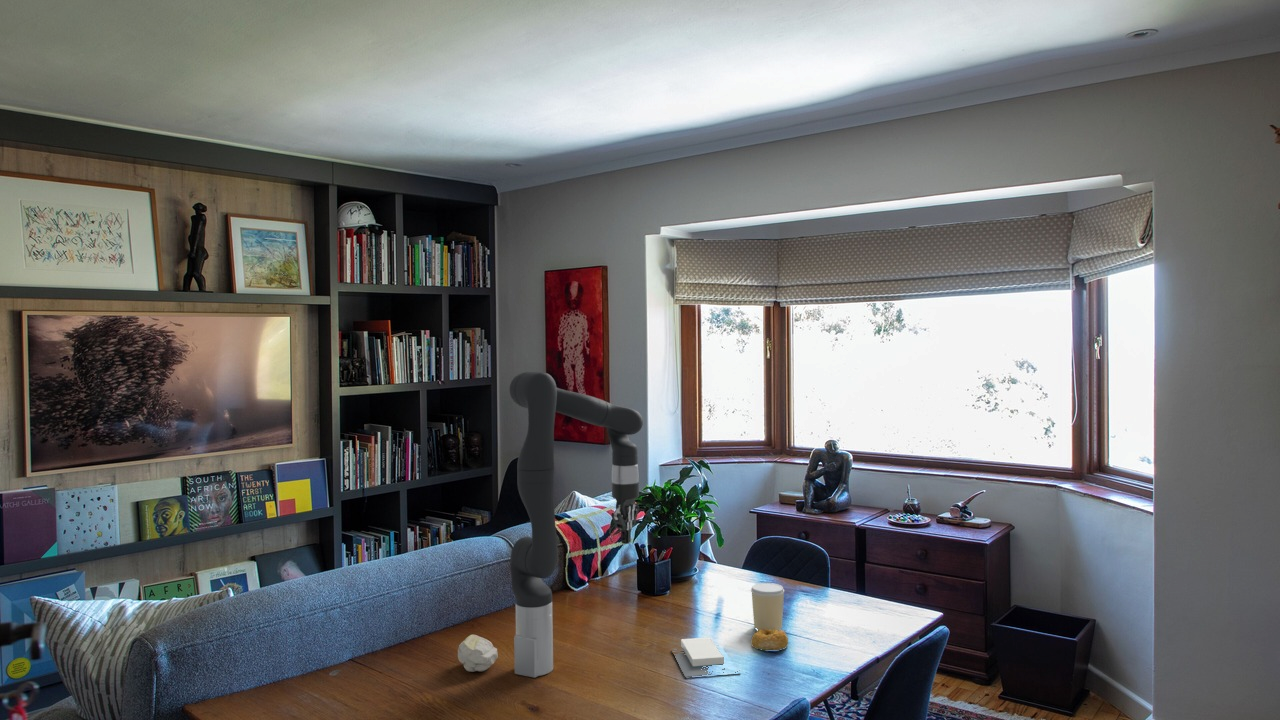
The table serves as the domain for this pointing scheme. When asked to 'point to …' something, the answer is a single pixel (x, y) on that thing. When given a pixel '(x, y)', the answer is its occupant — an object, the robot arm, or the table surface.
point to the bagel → (769, 639)
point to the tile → (702, 652)
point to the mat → (690, 666)
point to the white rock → (476, 653)
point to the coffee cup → (767, 605)
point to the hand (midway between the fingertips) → (626, 542)
